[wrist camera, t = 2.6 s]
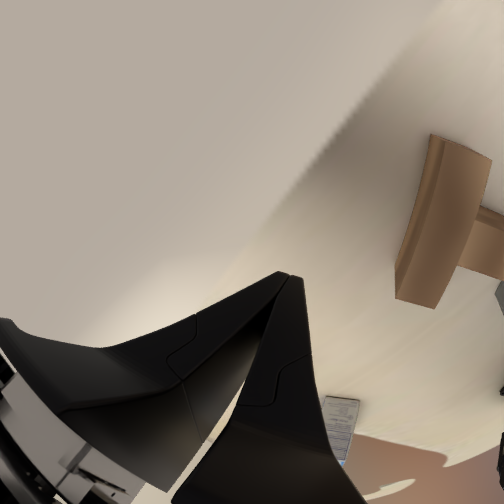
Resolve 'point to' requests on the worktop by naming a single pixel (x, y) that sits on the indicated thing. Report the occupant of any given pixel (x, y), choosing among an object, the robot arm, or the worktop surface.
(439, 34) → the worktop surface
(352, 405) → the medicine box
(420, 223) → the t block
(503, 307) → the t dock
